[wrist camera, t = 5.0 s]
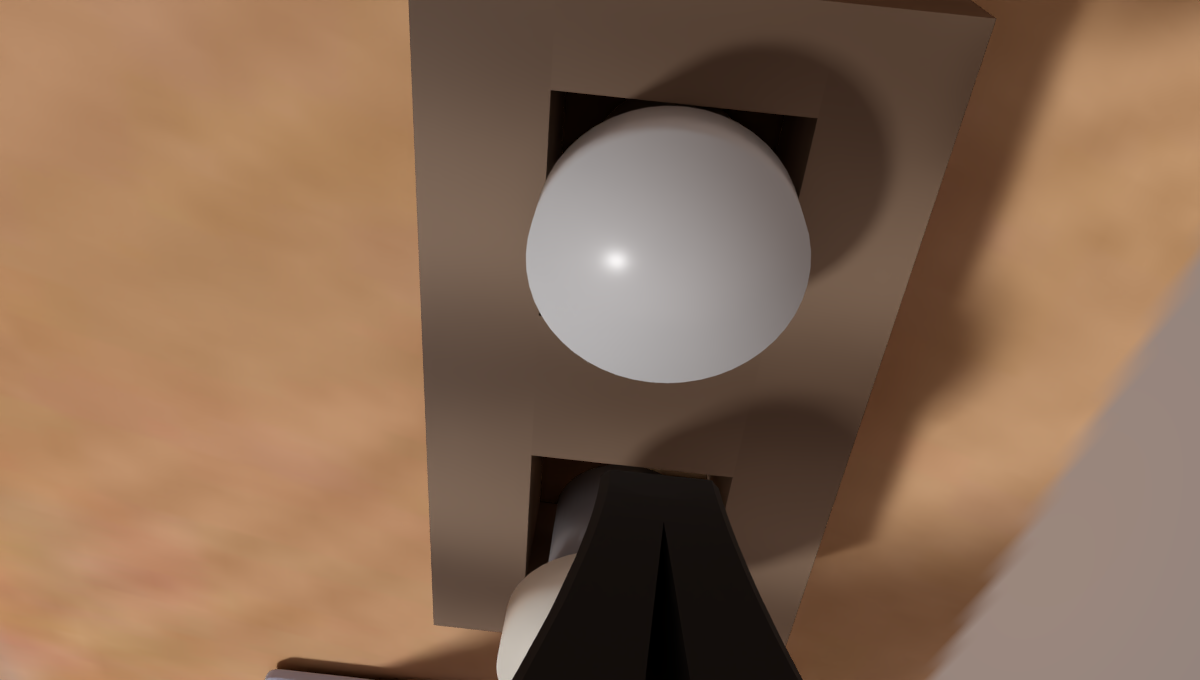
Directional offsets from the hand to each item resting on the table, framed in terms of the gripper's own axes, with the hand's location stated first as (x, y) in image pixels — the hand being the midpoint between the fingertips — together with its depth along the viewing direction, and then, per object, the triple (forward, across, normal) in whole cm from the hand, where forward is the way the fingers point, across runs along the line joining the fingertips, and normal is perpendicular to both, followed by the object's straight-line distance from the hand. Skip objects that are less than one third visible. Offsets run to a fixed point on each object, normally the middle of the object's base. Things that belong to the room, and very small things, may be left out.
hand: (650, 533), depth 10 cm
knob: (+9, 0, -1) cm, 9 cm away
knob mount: (+9, 0, +3) cm, 10 cm away
